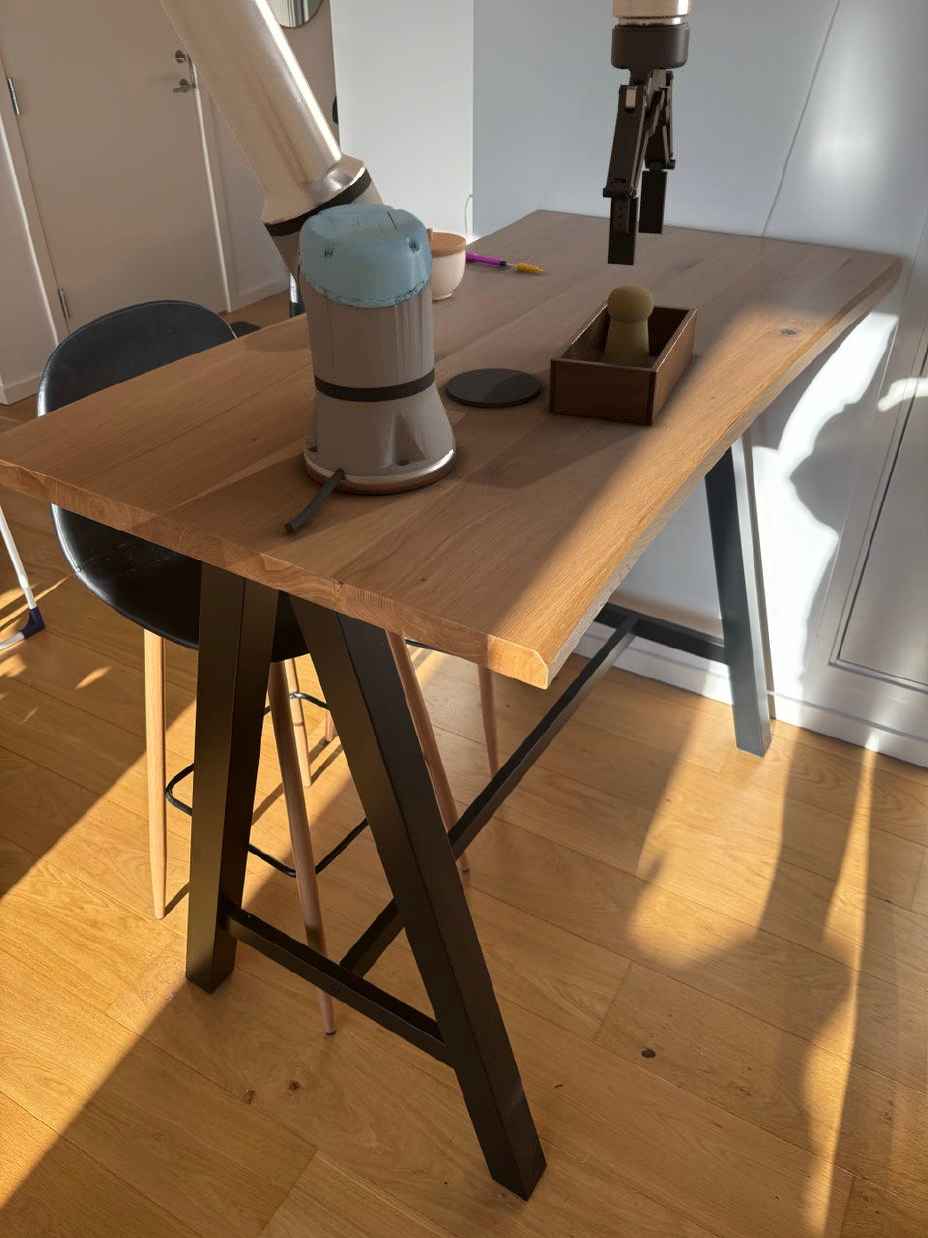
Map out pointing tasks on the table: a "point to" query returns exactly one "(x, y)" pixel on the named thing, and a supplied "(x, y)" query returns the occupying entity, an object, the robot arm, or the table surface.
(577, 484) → the table surface
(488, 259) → the multicoloured piece
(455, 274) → the trinket box
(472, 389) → the coaster
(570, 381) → the box
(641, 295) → the cork
